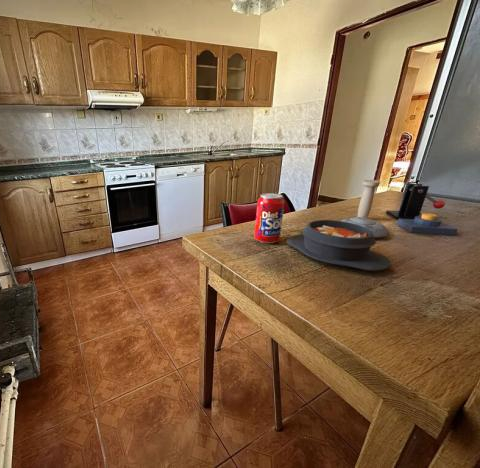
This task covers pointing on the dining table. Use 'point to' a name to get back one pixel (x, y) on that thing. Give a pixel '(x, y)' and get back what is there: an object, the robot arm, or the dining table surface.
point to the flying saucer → (369, 225)
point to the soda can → (269, 218)
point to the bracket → (411, 202)
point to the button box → (427, 226)
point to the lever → (436, 204)
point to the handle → (367, 197)
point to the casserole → (339, 245)
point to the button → (428, 216)
